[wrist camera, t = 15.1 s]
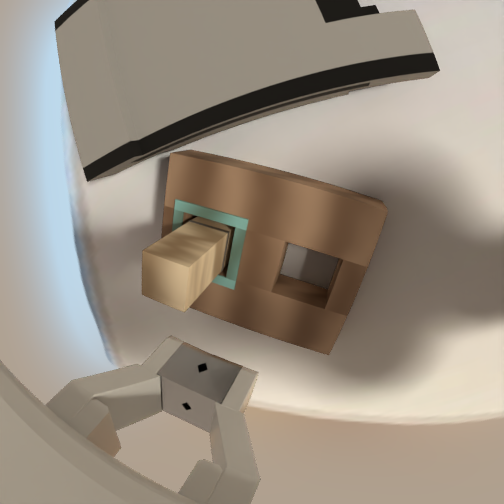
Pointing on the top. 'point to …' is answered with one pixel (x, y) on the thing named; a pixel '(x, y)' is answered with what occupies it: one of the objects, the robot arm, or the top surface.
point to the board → (275, 243)
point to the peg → (186, 262)
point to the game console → (217, 66)
